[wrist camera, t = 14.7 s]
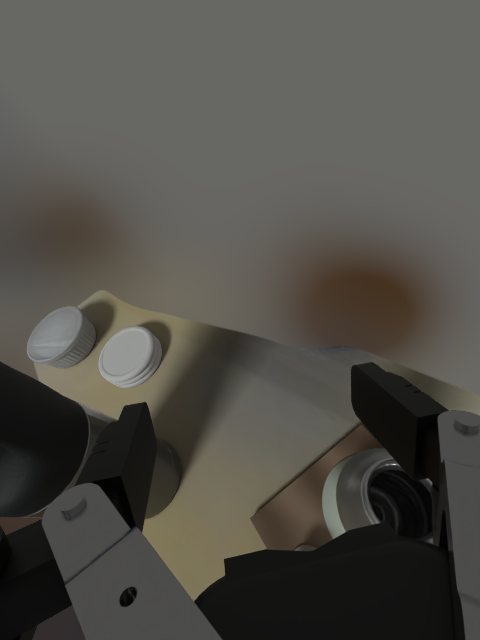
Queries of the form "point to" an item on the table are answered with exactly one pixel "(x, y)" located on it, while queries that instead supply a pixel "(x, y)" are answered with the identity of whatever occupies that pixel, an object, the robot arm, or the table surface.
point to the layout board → (311, 501)
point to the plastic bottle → (383, 496)
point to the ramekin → (62, 338)
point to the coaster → (130, 357)
